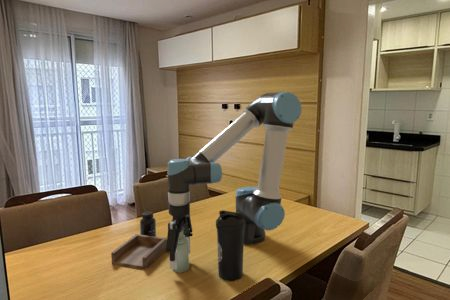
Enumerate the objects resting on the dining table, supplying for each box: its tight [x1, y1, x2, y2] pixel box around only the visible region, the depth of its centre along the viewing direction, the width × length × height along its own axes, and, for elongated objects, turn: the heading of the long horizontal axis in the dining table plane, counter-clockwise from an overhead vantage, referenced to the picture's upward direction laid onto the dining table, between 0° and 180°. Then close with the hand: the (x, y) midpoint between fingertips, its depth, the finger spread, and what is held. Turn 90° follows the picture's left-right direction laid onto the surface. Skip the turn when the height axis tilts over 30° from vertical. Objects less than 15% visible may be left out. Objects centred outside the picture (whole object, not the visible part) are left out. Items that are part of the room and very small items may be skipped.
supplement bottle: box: [139, 211, 157, 237], centre depth 134 cm, size 7×7×12 cm
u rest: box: [110, 233, 167, 270], centre depth 119 cm, size 14×17×4 cm
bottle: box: [172, 226, 190, 273], centre depth 109 cm, size 6×6×16 cm
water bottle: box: [215, 209, 245, 282], centre depth 104 cm, size 10×10×23 cm
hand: (180, 260), depth 110 cm, fingers open, 11 cm apart
